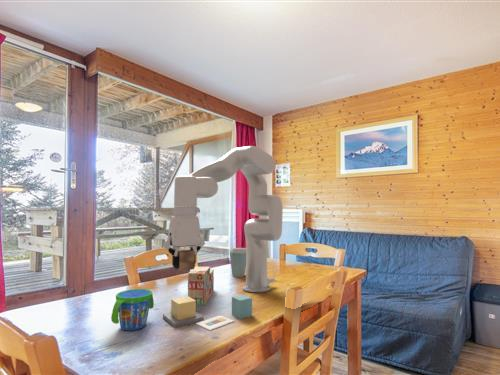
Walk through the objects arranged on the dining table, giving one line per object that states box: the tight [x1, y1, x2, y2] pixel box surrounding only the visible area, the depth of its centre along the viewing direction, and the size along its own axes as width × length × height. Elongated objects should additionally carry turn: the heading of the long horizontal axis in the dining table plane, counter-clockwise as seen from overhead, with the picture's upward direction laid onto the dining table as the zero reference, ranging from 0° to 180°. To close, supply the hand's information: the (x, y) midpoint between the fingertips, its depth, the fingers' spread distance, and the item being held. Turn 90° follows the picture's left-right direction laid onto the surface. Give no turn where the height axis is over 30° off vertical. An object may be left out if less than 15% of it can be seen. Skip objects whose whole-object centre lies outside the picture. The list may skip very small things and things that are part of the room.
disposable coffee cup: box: [228, 247, 246, 278], centre depth 163 cm, size 11×11×15 cm
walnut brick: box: [174, 248, 195, 272], centre depth 101 cm, size 5×5×6 cm
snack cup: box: [110, 288, 155, 331], centre depth 94 cm, size 16×10×10 cm
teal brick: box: [231, 294, 253, 319], centre depth 104 cm, size 5×5×6 cm
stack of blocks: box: [187, 266, 215, 307], centre depth 124 cm, size 21×6×12 cm, turn 177°
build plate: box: [162, 295, 205, 328], centre depth 100 cm, size 10×10×6 cm
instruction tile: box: [195, 314, 235, 331], centre depth 97 cm, size 10×7×1 cm
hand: (184, 266), depth 101 cm, fingers closed on walnut brick, 5 cm apart
